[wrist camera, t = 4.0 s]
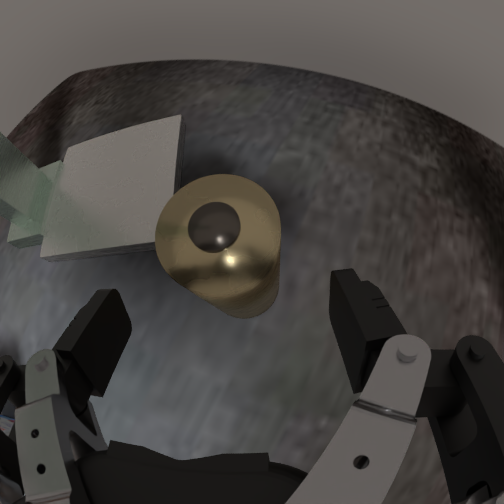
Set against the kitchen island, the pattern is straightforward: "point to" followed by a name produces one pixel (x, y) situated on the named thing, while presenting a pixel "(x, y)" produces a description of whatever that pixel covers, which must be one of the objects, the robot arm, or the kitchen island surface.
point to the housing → (223, 243)
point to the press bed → (94, 192)
